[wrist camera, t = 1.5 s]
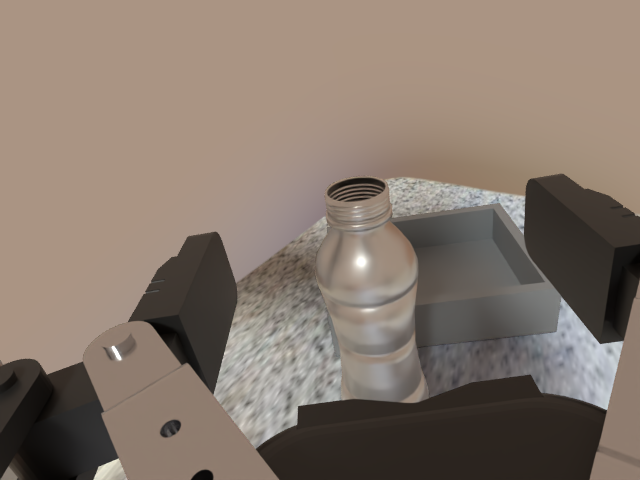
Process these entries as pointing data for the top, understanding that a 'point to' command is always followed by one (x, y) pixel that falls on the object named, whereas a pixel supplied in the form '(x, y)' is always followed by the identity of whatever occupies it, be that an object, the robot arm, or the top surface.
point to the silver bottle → (370, 293)
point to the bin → (474, 278)
